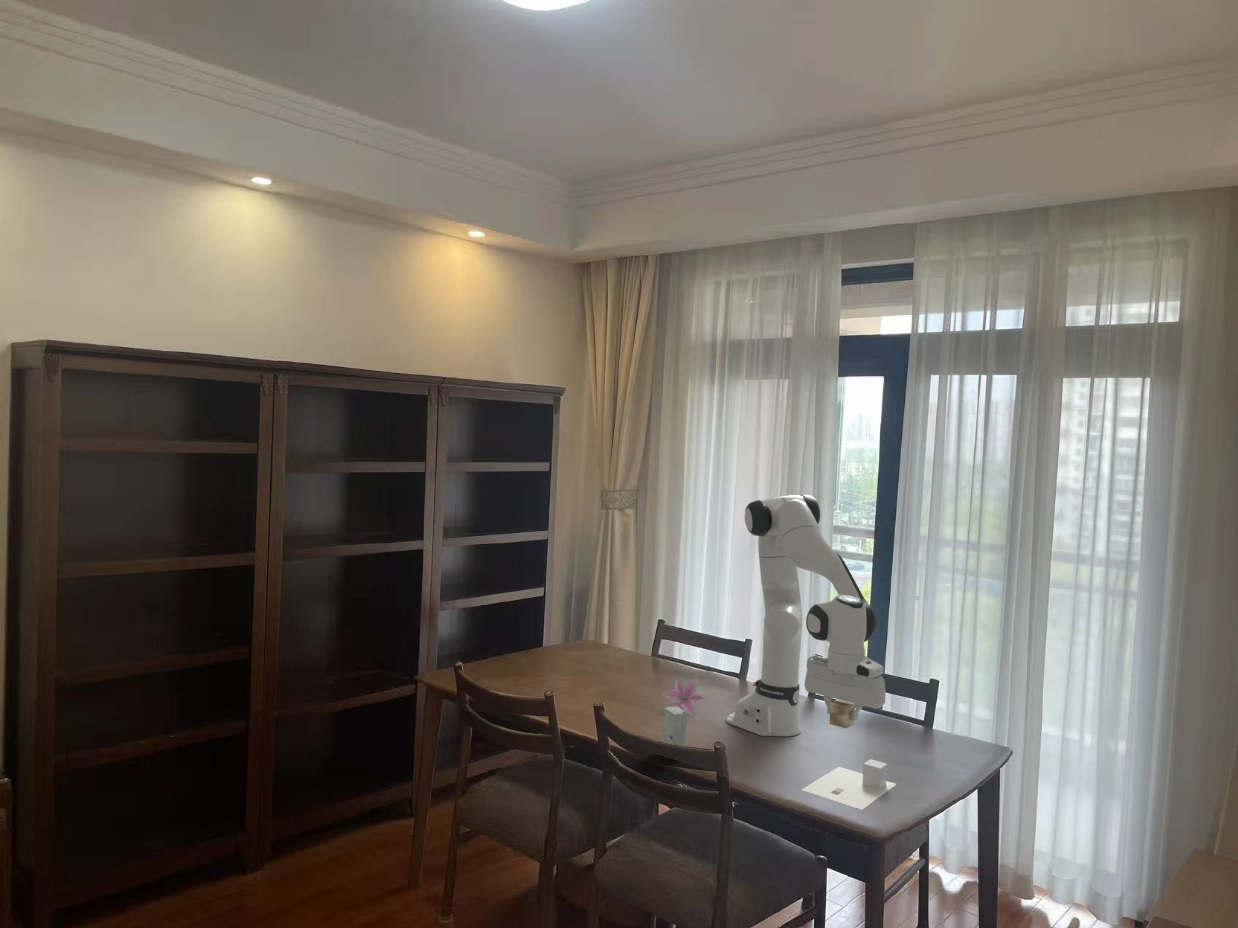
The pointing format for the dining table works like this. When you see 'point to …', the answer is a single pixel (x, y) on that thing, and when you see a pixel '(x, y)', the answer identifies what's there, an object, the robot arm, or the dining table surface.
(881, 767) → the grey block
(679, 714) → the skincare box
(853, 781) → the cream flat sheet
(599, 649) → the dining table surface
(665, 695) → the lily
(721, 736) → the dining table surface
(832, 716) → the birch block
